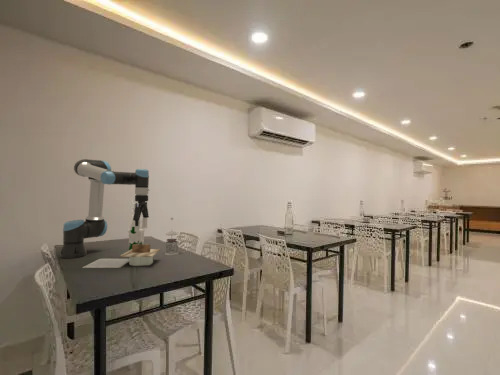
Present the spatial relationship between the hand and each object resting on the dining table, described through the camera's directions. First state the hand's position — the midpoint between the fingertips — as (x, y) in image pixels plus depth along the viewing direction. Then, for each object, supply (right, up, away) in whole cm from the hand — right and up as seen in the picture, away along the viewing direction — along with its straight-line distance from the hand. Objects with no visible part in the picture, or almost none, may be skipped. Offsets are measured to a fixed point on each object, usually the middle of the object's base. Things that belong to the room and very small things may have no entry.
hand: (141, 229), depth 178 cm
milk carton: (-10, -20, +17) cm, 29 cm away
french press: (+12, -21, +27) cm, 36 cm away
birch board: (0, -14, 0) cm, 14 cm away
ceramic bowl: (0, -20, 0) cm, 20 cm away
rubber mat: (-19, -20, -1) cm, 28 cm away
